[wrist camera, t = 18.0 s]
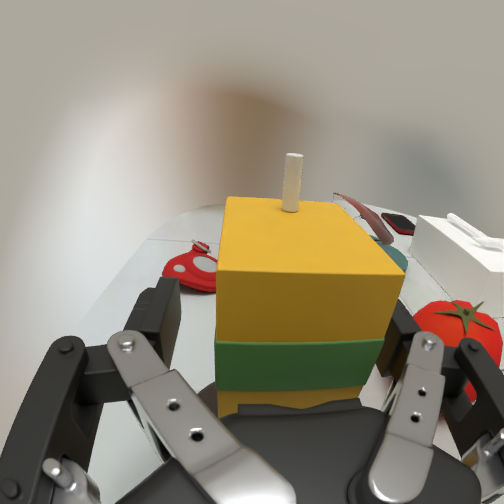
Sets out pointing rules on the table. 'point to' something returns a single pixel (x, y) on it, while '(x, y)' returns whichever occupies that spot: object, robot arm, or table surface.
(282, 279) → the juice packet
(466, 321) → the tomato
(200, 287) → the tracker holder
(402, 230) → the cell phone
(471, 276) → the tissue box
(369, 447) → the robot arm
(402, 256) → the boat on round base
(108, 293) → the table surface
